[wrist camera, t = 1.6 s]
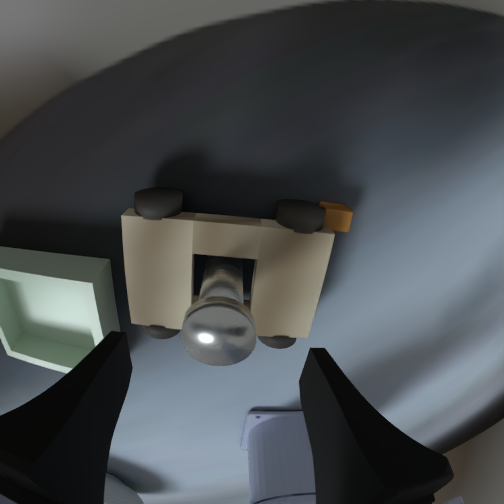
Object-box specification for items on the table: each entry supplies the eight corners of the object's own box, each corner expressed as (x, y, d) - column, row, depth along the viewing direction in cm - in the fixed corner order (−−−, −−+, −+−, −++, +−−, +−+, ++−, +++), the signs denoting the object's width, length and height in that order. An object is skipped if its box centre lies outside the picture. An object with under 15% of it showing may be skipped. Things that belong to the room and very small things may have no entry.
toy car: (345, 204, 17) (360, 219, 15) (314, 324, 21) (322, 349, 19) (136, 184, 16) (120, 197, 14) (142, 311, 20) (132, 335, 18)
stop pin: (253, 241, 18) (260, 313, 12) (247, 286, 20) (251, 368, 13) (199, 236, 18) (179, 306, 12) (197, 282, 19) (181, 362, 13)
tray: (110, 259, 18) (92, 283, 16) (125, 357, 22) (116, 384, 20) (-5, 245, 17) (-27, 263, 15) (22, 334, 21) (8, 355, 19)
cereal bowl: (167, 488, 37) (163, 524, 30) (124, 497, 41) (120, 525, 35) (72, 445, 31) (60, 484, 25) (48, 461, 36) (39, 489, 29)
